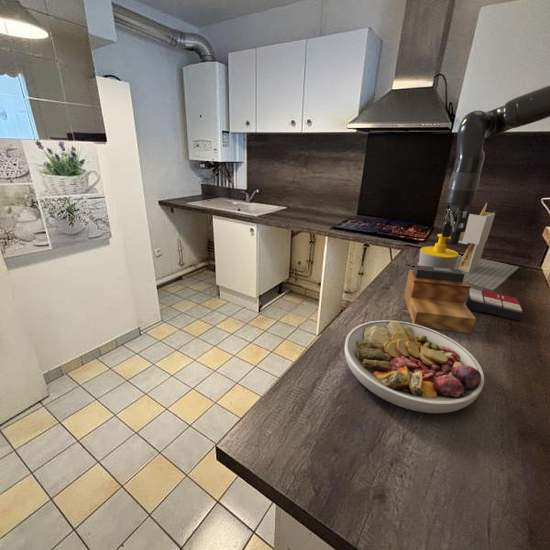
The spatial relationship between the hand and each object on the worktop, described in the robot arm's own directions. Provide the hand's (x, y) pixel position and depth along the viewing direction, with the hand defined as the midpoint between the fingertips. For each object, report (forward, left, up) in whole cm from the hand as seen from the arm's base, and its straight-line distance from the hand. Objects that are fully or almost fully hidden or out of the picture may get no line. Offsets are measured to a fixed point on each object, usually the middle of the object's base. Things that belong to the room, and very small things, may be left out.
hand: (449, 240), depth 93 cm
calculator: (-19, -3, -24) cm, 31 cm away
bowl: (+15, +38, -24) cm, 47 cm away
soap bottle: (-3, -17, -24) cm, 29 cm away
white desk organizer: (-23, -46, -24) cm, 57 cm away
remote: (+1, +1, -13) cm, 13 cm away
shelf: (+1, +6, -24) cm, 24 cm away
